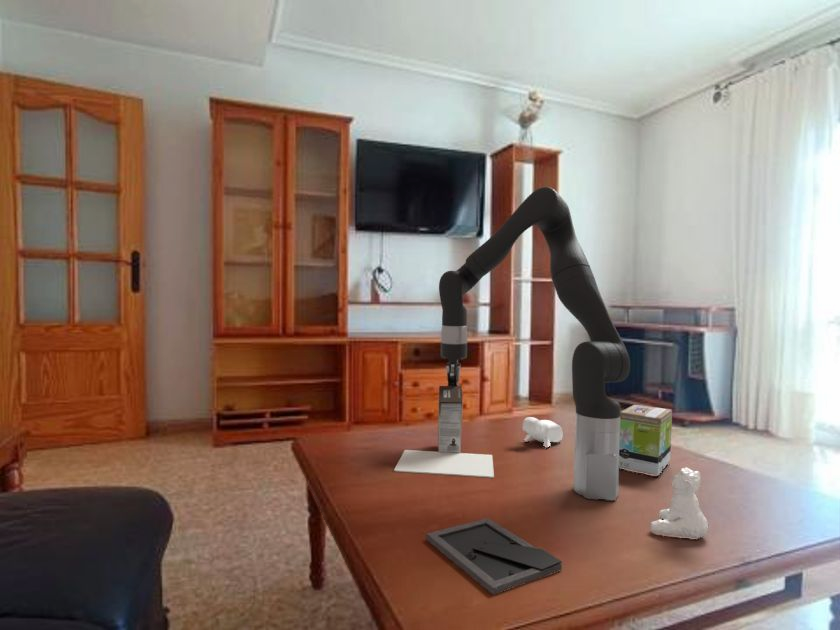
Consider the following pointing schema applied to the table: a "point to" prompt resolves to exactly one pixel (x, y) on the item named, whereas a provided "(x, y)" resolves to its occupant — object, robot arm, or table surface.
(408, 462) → the flat white rectangular panel
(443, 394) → the coffee box
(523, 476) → the table surface
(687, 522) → the seated beast figurine
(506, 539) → the picture frame
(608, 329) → the robot arm
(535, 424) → the white animal figurine
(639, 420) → the tea box
